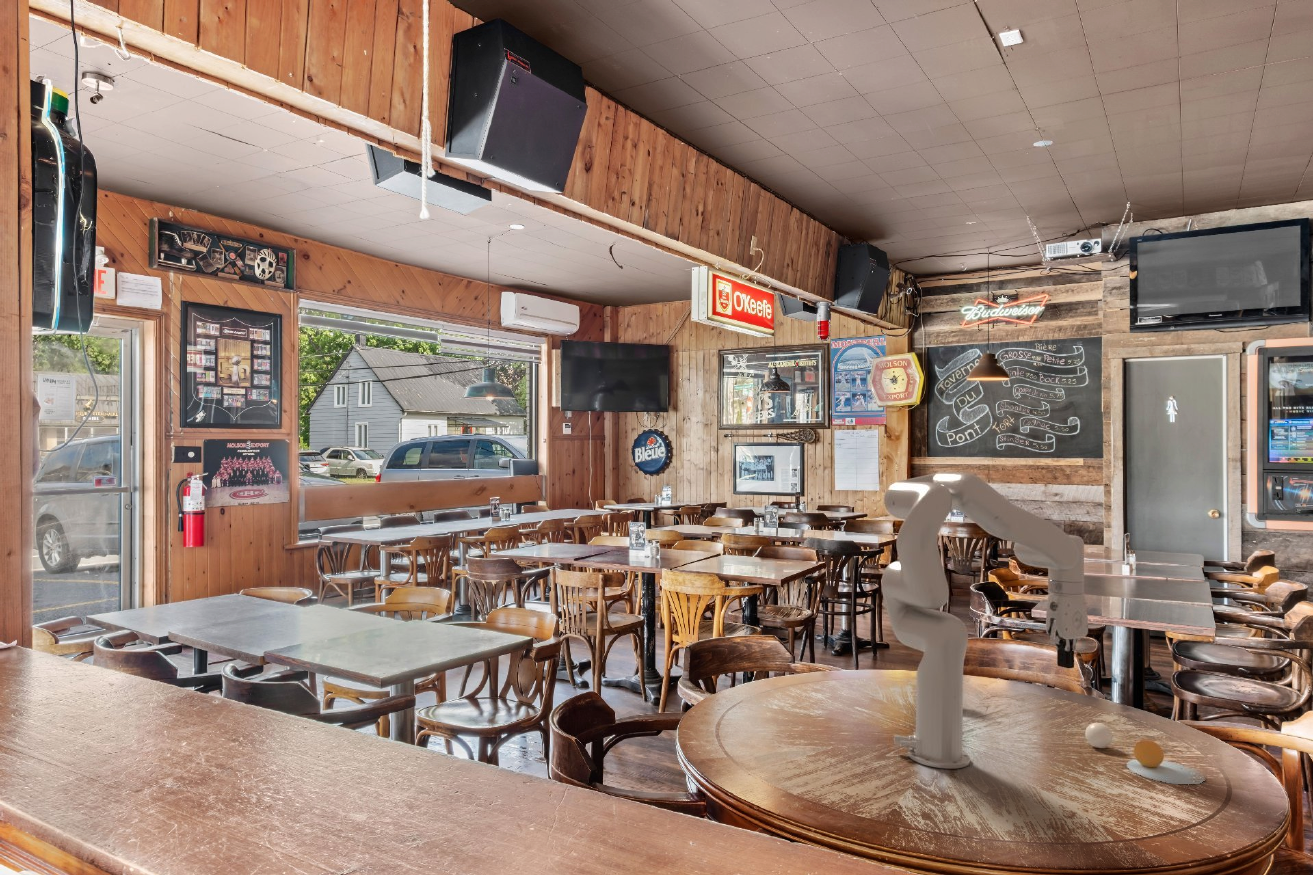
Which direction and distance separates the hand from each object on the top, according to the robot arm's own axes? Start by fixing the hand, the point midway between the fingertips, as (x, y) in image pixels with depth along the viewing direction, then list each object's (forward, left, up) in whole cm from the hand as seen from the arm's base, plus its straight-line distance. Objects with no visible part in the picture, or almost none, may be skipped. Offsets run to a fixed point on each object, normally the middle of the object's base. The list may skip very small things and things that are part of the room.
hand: (1065, 666), depth 191 cm
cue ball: (+6, -3, -14) cm, 16 cm away
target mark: (+16, -16, -17) cm, 28 cm away
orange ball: (+13, -13, -14) cm, 24 cm away
